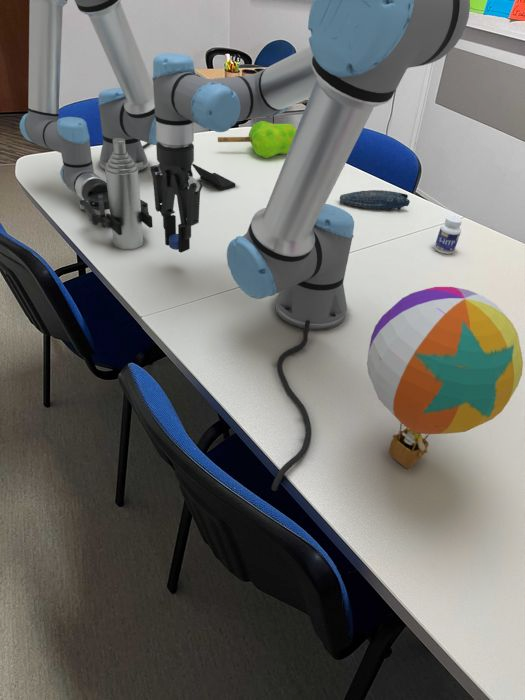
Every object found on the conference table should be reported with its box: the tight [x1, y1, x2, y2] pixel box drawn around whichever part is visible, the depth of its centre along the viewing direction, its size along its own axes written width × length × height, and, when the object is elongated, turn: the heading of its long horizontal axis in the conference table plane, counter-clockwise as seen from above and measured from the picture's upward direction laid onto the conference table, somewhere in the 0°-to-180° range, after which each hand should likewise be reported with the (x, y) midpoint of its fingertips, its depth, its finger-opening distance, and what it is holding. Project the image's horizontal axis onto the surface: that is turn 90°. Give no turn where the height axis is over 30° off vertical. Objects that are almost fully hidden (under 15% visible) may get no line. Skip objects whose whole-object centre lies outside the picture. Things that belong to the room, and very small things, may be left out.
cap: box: [168, 233, 179, 251], centre depth 118 cm, size 4×4×2 cm
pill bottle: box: [434, 215, 463, 255], centre depth 137 cm, size 5×5×9 cm
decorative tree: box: [217, 120, 297, 159], centre depth 187 cm, size 18×10×30 cm
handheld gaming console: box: [191, 163, 236, 191], centre depth 163 cm, size 12×7×10 cm
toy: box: [366, 286, 524, 469], centre depth 73 cm, size 20×20×30 cm
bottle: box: [104, 138, 144, 250], centre depth 123 cm, size 7×7×25 cm
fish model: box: [339, 189, 411, 211], centre depth 158 cm, size 7×21×5 cm, turn 84°
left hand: (135, 225), depth 124 cm, fingers closed on bottle, 7 cm apart
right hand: (177, 246), depth 119 cm, fingers closed on cap, 4 cm apart
